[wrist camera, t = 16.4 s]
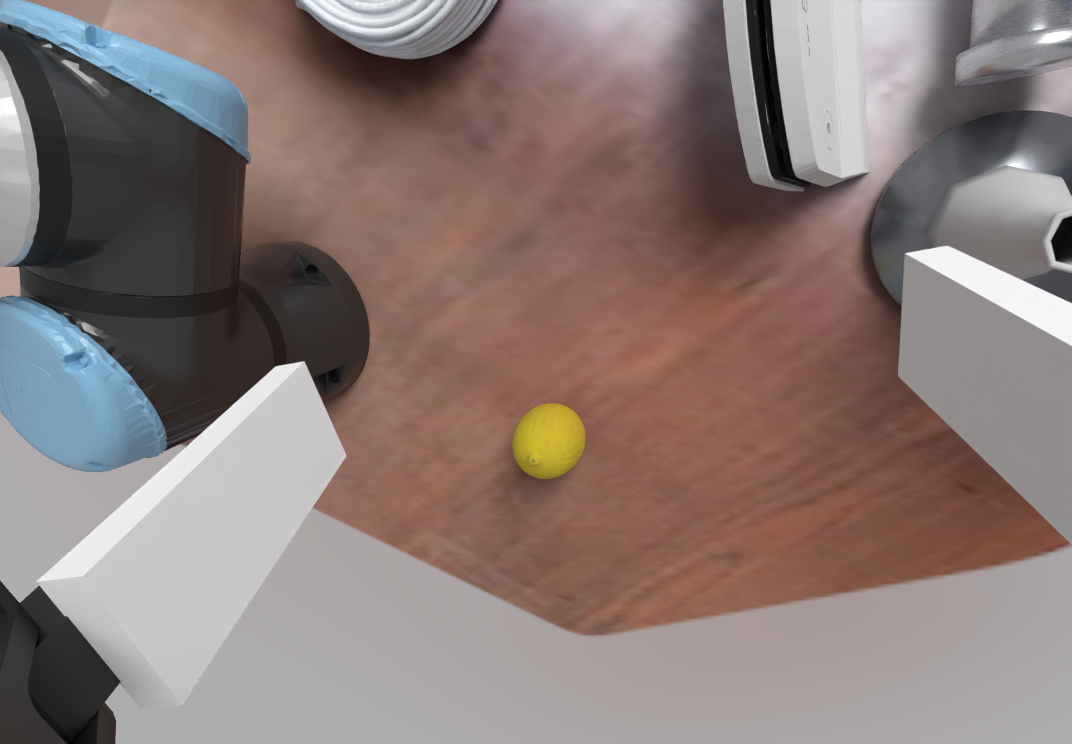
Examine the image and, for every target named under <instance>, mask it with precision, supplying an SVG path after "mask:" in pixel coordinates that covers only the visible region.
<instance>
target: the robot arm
mask: <svg viewBox="0 0 1072 744" xmlns="http://www.w3.org/2000/svg"><path fill="white" fill-rule="evenodd" d="M247 141H248V109H247V104H246V101H245V99H244V97H243V95H242V94H241V92H240V91H239V89H238V88H237V87H236V86H235V85H234V84H233V83H232V82H230V81H229V80H228V79H226V78H225V77H223V76H221V75H219V74H217V73H215V72H213V71H211V70H209V69H206V68H204V67H202V66H200V65H197V64H195V63H192V62H190V61H188V60H185V59H183V58H180V57H178V56H175V55H173V54H171V53H168V52H165V51H163V50H160V49H158V48H155V47H153V46H150V45H147V44H145V43H142V42H140V41H137V40H134V39H131V38H129V37H126V36H123V35H120V34H118V33H115V32H111V31H105V30H103V29H101V28H100V27H98V26H95V25H92V24H89V23H86V22H83V21H81V20H78V19H76V18H74V17H71V16H69V15H66V14H63V13H60V12H57V11H54V10H51V9H49V8H46V7H43V6H40V5H37V4H33V3H30V2H27V1H23V0H2V1H1V2H0V267H19V271H20V287H21V295H20V296H19V297H16V296H6V297H2V298H1V299H0V411H1V413H2V414H3V415H4V417H5V418H6V419H7V420H8V421H9V422H10V423H11V425H12V426H13V428H14V429H15V430H16V431H17V432H18V433H19V434H20V435H21V436H22V437H23V438H24V439H25V440H26V441H27V442H29V443H30V444H31V445H32V446H33V447H34V448H36V449H37V450H38V451H39V452H41V453H42V454H44V455H45V456H47V457H49V458H50V459H52V460H54V461H56V462H57V463H59V464H62V465H64V466H66V467H69V468H72V469H76V470H80V471H86V472H103V471H109V470H112V469H116V468H118V467H121V466H124V465H127V464H129V463H132V462H135V461H137V460H140V459H143V458H151V457H155V456H158V455H159V454H160V453H162V452H163V451H166V450H168V449H170V448H172V447H174V446H177V445H179V444H181V443H183V442H185V441H188V440H190V439H192V438H194V437H196V436H198V437H197V438H196V439H194V440H193V441H192V442H191V443H190V444H189V445H188V446H187V447H186V448H185V449H183V450H182V451H181V452H180V453H179V454H178V455H177V456H176V457H174V458H173V459H172V460H171V461H170V462H169V463H168V464H167V465H166V466H164V467H163V468H162V469H161V470H160V471H159V472H158V473H157V474H156V475H154V476H153V477H152V478H151V479H150V480H149V481H148V482H147V483H145V484H144V486H142V487H141V488H140V489H139V490H138V491H137V492H135V493H134V494H133V495H132V496H131V497H130V498H129V499H128V500H127V501H125V502H124V503H123V504H122V505H121V506H120V507H119V508H118V509H117V510H115V512H113V513H112V514H111V515H110V516H109V517H108V518H107V519H105V520H104V521H103V522H102V523H101V524H100V525H99V526H98V527H97V528H95V529H94V530H93V531H92V532H91V533H90V534H89V535H88V536H87V537H86V538H84V539H83V540H82V541H81V542H80V543H79V544H78V545H77V546H75V547H74V548H73V549H72V550H71V551H70V552H69V553H68V554H66V556H64V557H63V558H62V559H61V560H60V561H59V562H58V563H57V564H55V565H54V566H53V567H52V568H51V569H50V570H49V571H48V572H47V573H45V574H44V575H43V576H42V577H41V578H40V579H39V580H38V581H37V583H38V584H39V586H38V587H37V588H36V589H35V590H34V591H33V592H32V593H31V594H29V595H28V596H27V597H26V598H25V599H24V600H23V601H22V602H21V603H19V602H18V601H17V600H16V599H15V597H14V596H13V595H12V594H11V593H10V592H9V590H8V589H7V588H6V587H5V586H4V585H3V583H2V582H1V581H0V744H115V736H116V735H115V734H116V720H115V717H114V714H113V712H112V710H111V709H110V708H109V707H108V706H107V705H106V703H105V701H106V700H107V698H108V697H109V696H110V695H111V693H112V692H113V690H114V689H115V688H116V687H117V686H118V684H119V683H120V684H121V685H122V686H123V688H124V689H125V690H126V692H127V693H128V694H129V695H130V696H131V697H132V699H133V700H134V701H135V702H136V704H137V705H138V706H139V707H140V708H150V707H166V706H181V705H183V703H184V702H185V700H186V699H187V697H188V696H189V694H190V693H191V691H192V689H193V688H194V687H195V685H196V683H197V682H198V680H199V679H200V677H201V676H202V674H203V673H204V671H205V670H206V668H207V667H208V665H209V664H210V662H211V661H212V659H213V658H214V656H215V655H216V653H217V652H218V650H219V649H220V647H221V646H222V644H223V643H224V641H225V640H226V638H227V637H228V635H229V633H230V632H231V630H232V629H233V627H234V626H235V624H236V622H237V621H238V620H239V618H240V617H241V615H242V614H243V612H244V610H245V609H246V608H247V606H248V605H249V603H250V601H251V600H252V598H253V597H254V596H255V594H256V592H257V591H258V589H259V588H260V586H261V585H262V583H263V582H264V580H265V579H266V577H267V576H268V574H269V573H270V571H271V570H272V568H273V567H274V565H275V564H276V562H277V561H278V559H279V558H280V556H281V555H282V553H283V551H284V550H285V548H286V547H287V545H288V544H289V542H290V541H291V539H292V538H293V536H294V535H295V533H296V532H297V530H298V529H299V527H300V526H301V524H302V523H303V521H304V520H305V518H306V516H307V515H308V513H309V512H310V511H311V509H312V507H313V506H314V504H315V503H316V501H317V500H318V498H319V497H320V495H321V494H322V492H323V491H324V489H325V488H326V486H327V485H328V483H329V482H330V480H331V479H332V477H333V476H334V474H335V473H336V471H337V470H338V468H339V467H340V465H341V463H342V462H343V460H344V459H345V457H346V454H345V452H344V449H343V447H342V445H341V443H340V440H339V438H338V436H337V434H336V431H335V429H334V427H333V425H332V422H331V420H330V418H329V416H328V413H327V411H326V409H325V407H324V404H323V402H322V401H323V400H326V399H328V398H330V397H332V396H334V395H336V394H338V393H340V392H342V391H344V390H345V389H346V388H348V387H349V386H350V385H351V384H352V383H353V382H354V381H355V379H356V378H357V377H358V375H359V374H360V372H361V370H362V368H363V366H364V363H365V360H366V357H367V353H368V346H369V326H368V319H367V315H366V311H365V307H364V304H363V301H362V299H361V296H360V294H359V292H358V290H357V288H356V286H355V285H354V283H353V281H352V280H351V278H350V277H349V276H348V274H347V273H346V272H345V271H344V269H343V268H342V267H341V266H340V265H339V264H338V263H337V262H336V261H335V260H333V259H332V258H331V257H330V256H328V255H327V254H325V253H324V252H322V251H321V250H319V249H317V248H315V247H312V246H310V245H307V244H303V243H299V242H279V243H269V244H263V245H260V246H256V247H254V248H251V249H249V250H247V251H246V252H244V253H242V254H241V239H242V223H243V206H244V190H245V173H246V164H250V161H251V157H250V154H249V152H248V150H247ZM898 376H899V377H900V378H901V379H902V380H903V381H904V382H905V383H906V384H907V385H908V386H909V387H910V388H911V389H912V390H913V391H914V392H915V393H916V394H917V395H918V396H919V397H920V398H921V399H922V400H923V401H924V402H925V403H926V404H927V405H928V406H929V407H930V408H931V409H933V410H934V411H935V412H936V413H937V414H938V415H939V416H940V417H941V418H942V419H943V420H944V421H945V422H946V423H947V424H948V425H949V426H950V427H951V428H952V429H953V430H954V431H955V432H956V433H957V434H958V435H959V436H960V437H961V438H962V439H963V440H964V441H965V442H967V443H968V444H969V445H970V446H971V447H972V448H973V449H974V450H975V451H976V452H977V453H978V454H979V455H980V456H981V457H982V458H983V459H984V460H985V461H986V462H987V463H988V464H989V465H990V466H991V467H992V468H993V469H994V470H995V471H996V472H997V473H998V474H999V475H1001V476H1002V477H1003V478H1004V479H1005V480H1006V481H1007V482H1008V483H1009V484H1010V485H1011V486H1012V487H1013V488H1014V489H1015V490H1016V491H1017V492H1018V493H1019V494H1020V495H1021V496H1022V497H1023V498H1024V499H1025V500H1026V501H1027V502H1028V503H1029V504H1030V505H1031V506H1032V507H1033V508H1035V509H1036V510H1037V511H1038V512H1039V513H1040V514H1041V515H1042V516H1043V517H1044V518H1045V519H1046V520H1047V521H1048V522H1049V523H1050V524H1051V525H1052V526H1053V527H1054V528H1055V529H1056V530H1057V531H1058V532H1059V533H1060V534H1061V535H1062V536H1063V537H1064V538H1065V539H1066V540H1067V541H1069V542H1070V543H1071V544H1072V303H1070V302H1068V301H1065V300H1063V299H1061V298H1059V297H1057V296H1055V295H1053V294H1050V293H1048V292H1046V291H1044V290H1042V289H1040V288H1038V287H1035V286H1033V285H1031V284H1029V283H1027V282H1025V281H1023V280H1020V279H1018V278H1016V277H1014V276H1012V275H1010V274H1008V273H1005V272H1003V271H1001V270H999V269H997V268H995V267H993V266H990V265H988V264H986V263H984V262H982V261H980V260H977V259H975V258H973V257H971V256H969V255H967V254H965V253H962V252H960V251H958V250H956V249H954V248H952V247H950V246H943V247H937V248H932V249H926V250H920V251H915V252H909V253H905V259H904V277H903V295H902V313H901V332H900V350H899V368H898Z"/></svg>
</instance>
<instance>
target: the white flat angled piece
mask: <svg viewBox="0 0 1072 744" xmlns="http://www.w3.org/2000/svg"><path fill="white" fill-rule="evenodd" d="M723 8H724V19H725V31H726V43H727V52H728V61H729V69H730V77H731V84H732V90H733V97H734V103H735V110H736V116H737V121H738V127H739V133H740V137H741V142H742V147H743V152H744V156H745V160H746V165H747V169H748V174H749V176H750V179H751V180H752V182H753V183H755V184H759V185H763V186H767V187H771V188H775V189H779V190H783V191H805V189H804V187H805V186H810V182H811V183H814V184H818V185H821V186H824V187H828V186H831V185H833V184H836V183H839V182H842V181H844V180H847V179H850V178H853V177H855V176H860V175H863V174H866V173H869V172H870V166H869V148H868V129H867V111H866V93H865V75H864V57H863V39H862V21H861V2H860V0H723Z"/></svg>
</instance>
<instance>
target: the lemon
mask: <svg viewBox="0 0 1072 744" xmlns="http://www.w3.org/2000/svg"><path fill="white" fill-rule="evenodd" d="M585 442H586V435H585V429H584V426H583V423H582V421H581V419H580V418H579V416H578V415H577V414H576V413H575V412H574V411H573V410H571V409H570V408H568V407H567V406H564V405H561V404H555V403H548V404H543V405H540V406H537V407H535V408H533V409H531V410H530V411H529V412H528V413H527V414H525V415H524V416H523V417H522V419H521V420H520V422H519V423H518V425H517V427H516V429H515V432H514V435H513V439H512V451H513V455H514V458H515V460H516V462H517V464H518V465H519V466H520V468H521V469H522V470H523V471H525V472H526V473H527V474H529V475H531V476H533V477H536V478H540V479H551V478H555V477H559V476H561V475H562V474H564V473H566V472H568V471H569V470H570V469H571V468H572V467H573V466H574V465H575V464H576V463H577V462H578V461H579V459H580V457H581V455H582V453H583V451H584V447H585Z"/></svg>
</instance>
